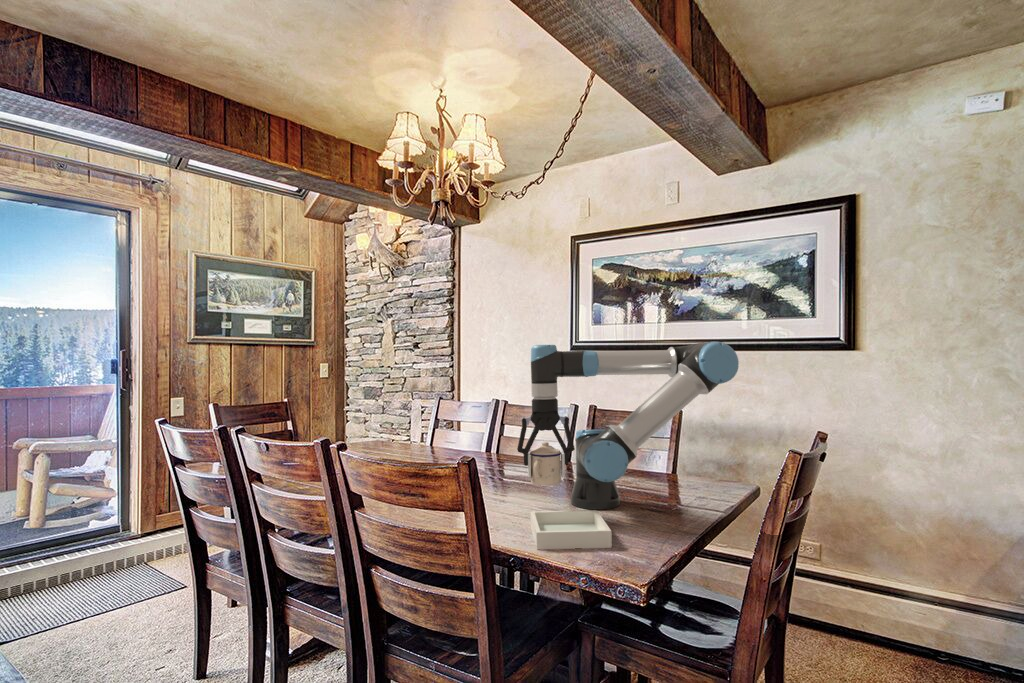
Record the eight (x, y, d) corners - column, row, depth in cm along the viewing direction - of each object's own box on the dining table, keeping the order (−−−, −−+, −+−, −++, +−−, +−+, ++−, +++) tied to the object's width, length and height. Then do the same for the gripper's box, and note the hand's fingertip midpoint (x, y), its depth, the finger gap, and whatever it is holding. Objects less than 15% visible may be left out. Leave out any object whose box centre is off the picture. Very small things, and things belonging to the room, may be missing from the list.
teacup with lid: (537, 478, 165) (537, 439, 165) (566, 480, 161) (565, 440, 161) (520, 486, 154) (519, 445, 154) (550, 489, 150) (549, 446, 150)
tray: (596, 524, 149) (596, 510, 149) (611, 547, 131) (611, 530, 131) (530, 526, 148) (530, 511, 148) (536, 549, 130) (536, 532, 130)
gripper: (579, 396, 162) (581, 472, 162) (506, 397, 161) (508, 474, 161) (584, 398, 155) (586, 478, 154) (507, 399, 154) (509, 480, 153)
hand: (546, 476), depth 157 cm, fingers closed on teacup with lid, 9 cm apart
